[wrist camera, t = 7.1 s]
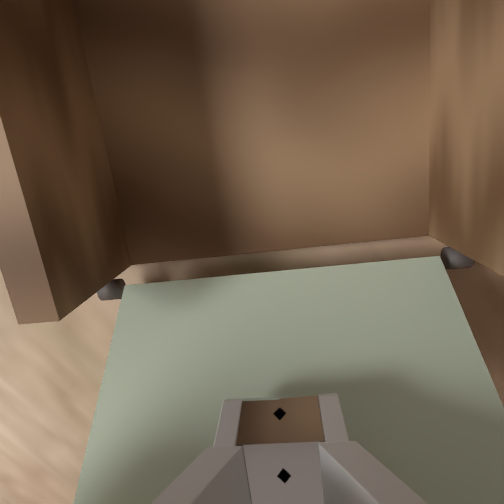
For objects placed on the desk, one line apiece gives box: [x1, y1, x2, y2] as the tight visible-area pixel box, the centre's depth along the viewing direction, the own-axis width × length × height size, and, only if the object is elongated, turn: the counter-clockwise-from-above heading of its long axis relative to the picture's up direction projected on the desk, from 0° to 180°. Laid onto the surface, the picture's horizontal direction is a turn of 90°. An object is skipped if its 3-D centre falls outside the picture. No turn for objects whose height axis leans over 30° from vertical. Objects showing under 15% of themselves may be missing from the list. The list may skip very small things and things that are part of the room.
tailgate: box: [73, 256, 504, 504], centre depth 11 cm, size 1×12×8 cm
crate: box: [0, 0, 504, 324], centre depth 10 cm, size 17×14×6 cm
